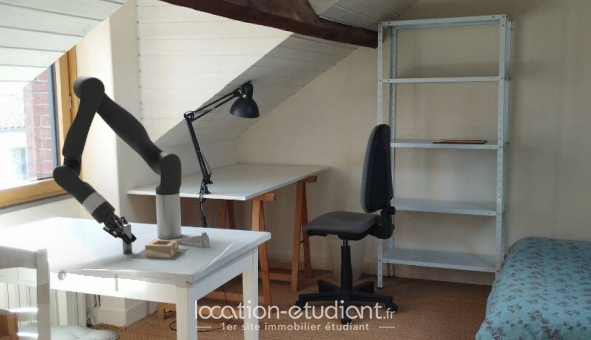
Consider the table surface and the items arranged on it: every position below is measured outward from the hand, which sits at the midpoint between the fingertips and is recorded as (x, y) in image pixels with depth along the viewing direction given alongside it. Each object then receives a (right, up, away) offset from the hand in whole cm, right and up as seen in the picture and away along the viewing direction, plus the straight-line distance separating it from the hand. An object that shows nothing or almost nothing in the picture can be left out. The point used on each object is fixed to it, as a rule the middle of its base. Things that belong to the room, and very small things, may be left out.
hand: (132, 241), depth 230 cm
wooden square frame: (+11, -4, -1) cm, 12 cm away
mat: (+10, -4, -1) cm, 11 cm away
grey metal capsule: (-2, -4, +1) cm, 5 cm away
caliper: (+17, -3, +12) cm, 21 cm away
